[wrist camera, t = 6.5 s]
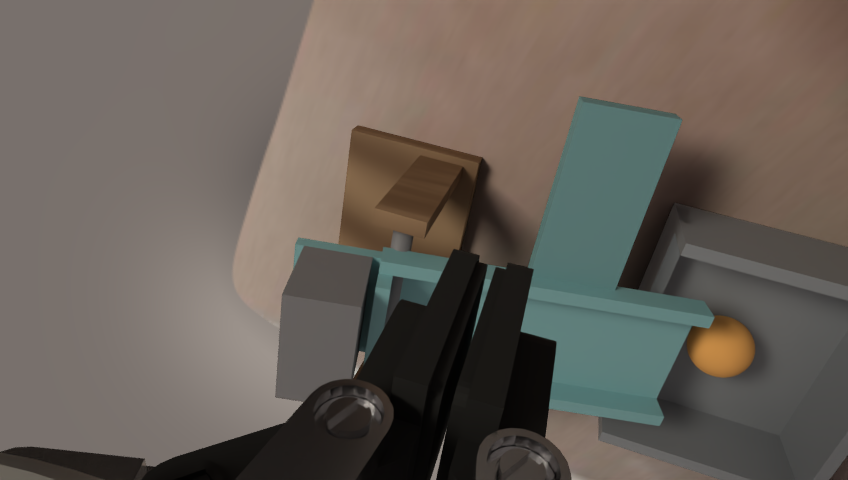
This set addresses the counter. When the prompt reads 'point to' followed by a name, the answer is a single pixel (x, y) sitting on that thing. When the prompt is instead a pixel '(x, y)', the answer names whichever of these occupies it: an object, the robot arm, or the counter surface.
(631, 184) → the lever arm
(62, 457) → the robot arm
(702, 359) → the ball
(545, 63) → the counter surface
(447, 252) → the lever stand
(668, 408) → the bin
